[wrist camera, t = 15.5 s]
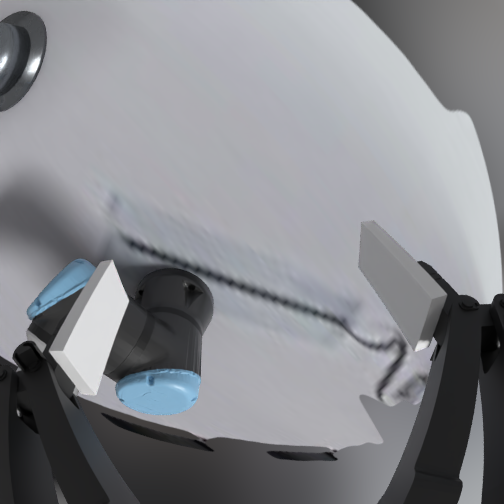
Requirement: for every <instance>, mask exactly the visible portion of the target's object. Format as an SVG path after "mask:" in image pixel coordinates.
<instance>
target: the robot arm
mask: <svg viewBox="0 0 504 504" xmlns="http://www.w3.org/2000/svg"><path fill="white" fill-rule="evenodd" d="M358 267H359V269H360V270H361V272H362V273H363V274H364V276H365V277H366V279H367V280H368V281H369V283H370V284H371V286H372V287H373V289H374V290H375V292H376V293H377V295H378V296H379V298H380V299H381V300H382V302H383V303H384V305H385V306H386V308H387V309H388V311H389V312H390V314H391V316H392V317H393V319H394V320H395V322H396V323H397V325H398V326H399V328H400V329H401V331H402V333H403V334H404V336H405V337H406V339H407V341H408V342H409V344H410V345H411V347H412V349H413V350H414V352H416V351H419V350H421V349H424V348H427V347H429V346H430V343H431V341H432V338H433V337H434V338H435V340H436V341H437V345H436V347H435V350H434V352H433V354H432V357H431V359H430V360H431V361H432V365H431V369H430V373H429V377H428V381H427V385H426V388H425V392H424V395H423V399H422V402H421V405H420V409H419V412H418V415H417V418H416V421H415V424H414V426H413V429H412V432H411V435H410V437H409V440H408V443H407V445H406V448H405V450H404V453H403V455H402V458H401V460H400V462H399V465H398V467H397V469H396V471H395V474H394V476H393V478H392V480H391V482H390V484H389V486H388V488H387V490H386V492H385V494H384V495H383V496H382V498H381V499H380V500H379V502H378V504H457V503H458V501H459V498H460V495H461V491H462V487H463V485H462V481H461V480H460V479H459V474H460V470H461V466H462V463H463V459H464V456H465V452H466V448H467V444H468V439H469V434H470V430H471V425H472V420H473V415H474V409H475V402H476V395H477V387H478V379H479V384H480V393H481V401H482V413H483V430H484V473H483V488H482V502H481V504H504V294H497V295H496V296H495V297H494V299H493V302H492V304H481V305H480V304H479V303H478V301H477V300H475V299H474V298H473V297H470V296H468V295H458V294H457V292H456V291H455V290H454V289H453V288H452V287H451V286H450V285H449V284H448V283H447V282H446V281H445V280H444V279H442V277H441V276H440V275H439V274H437V272H436V271H435V270H434V269H433V268H432V267H431V266H430V265H428V264H427V263H425V262H423V261H418V262H416V261H415V259H414V258H413V257H412V256H411V255H410V254H409V253H408V252H407V251H405V250H404V249H403V248H402V247H401V246H400V245H399V244H398V243H397V242H396V241H395V240H394V239H393V238H392V237H391V236H390V235H389V234H388V233H387V232H386V231H385V230H384V229H383V228H381V227H380V226H379V225H378V224H377V223H376V222H375V221H367V222H361V235H360V252H359V266H358ZM213 306H214V302H213V296H212V294H211V291H210V290H209V288H208V287H207V285H206V284H205V283H204V282H203V281H202V280H201V279H199V278H198V277H196V276H195V275H193V274H191V273H189V272H186V271H183V270H178V269H162V270H158V271H155V272H152V273H151V274H149V275H147V276H146V277H145V278H144V279H143V280H142V281H141V283H140V285H139V287H138V289H137V292H136V295H135V300H134V299H133V298H131V297H130V296H129V295H128V294H127V293H126V292H125V290H124V287H123V285H122V283H121V280H120V278H119V275H118V273H117V270H116V267H115V265H114V262H113V260H107V261H101V262H100V263H99V265H98V267H97V268H96V267H95V266H93V265H92V264H91V263H90V262H89V261H87V260H85V259H76V260H74V261H72V262H71V263H70V264H68V265H67V266H66V267H65V268H64V269H63V270H62V271H61V272H60V273H59V274H58V275H57V276H56V277H55V278H54V279H53V280H52V281H51V282H50V283H49V284H48V285H47V286H46V287H45V288H44V289H43V291H42V292H41V293H40V294H39V295H38V297H37V298H36V299H35V300H34V302H33V303H32V304H31V305H30V306H29V308H28V309H27V315H28V317H29V319H30V320H33V321H32V323H31V324H30V326H29V328H28V329H27V331H26V334H27V340H28V341H26V342H23V343H22V344H20V345H19V346H18V347H17V348H16V350H15V351H14V353H13V360H14V361H15V363H16V364H17V365H18V366H19V367H18V370H17V371H16V372H15V371H14V370H13V369H12V368H11V367H10V365H3V366H1V367H0V504H59V503H58V499H57V495H56V491H55V486H54V481H53V477H52V472H51V468H52V470H53V473H54V475H55V477H56V479H57V482H58V484H59V486H60V488H61V490H62V492H63V494H64V497H65V499H66V501H67V503H68V504H140V502H139V501H138V500H137V499H136V497H135V496H134V495H133V493H132V492H131V490H130V489H129V488H128V486H127V485H126V483H125V482H124V480H123V479H122V478H121V476H120V474H119V473H118V471H117V470H116V468H115V467H114V465H113V464H112V462H111V460H110V459H109V457H108V455H107V454H106V452H105V450H104V449H103V447H102V445H101V444H100V442H99V440H98V438H97V436H96V435H95V433H94V431H93V429H92V427H91V425H90V423H89V421H88V419H87V418H86V415H85V413H84V411H83V409H82V407H81V405H80V403H79V401H78V399H77V395H78V393H79V391H80V392H81V394H82V395H96V394H97V391H98V388H99V385H100V381H101V378H102V375H103V374H104V375H106V376H107V377H109V378H110V379H112V380H113V381H115V382H116V383H117V384H116V387H115V388H116V389H115V390H116V395H117V397H118V398H119V400H120V401H121V402H122V403H123V404H124V405H126V406H127V407H129V408H131V409H133V410H136V411H138V412H142V413H146V414H152V415H172V414H177V413H180V412H183V411H186V410H188V409H189V408H191V407H192V406H193V405H194V404H195V402H196V401H197V398H198V392H199V385H200V383H201V349H202V336H203V334H204V332H205V330H206V328H207V327H208V325H209V323H210V321H211V319H212V316H213Z"/></svg>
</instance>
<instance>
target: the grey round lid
mask: <svg viewBox="0 0 504 504" xmlns="http://www.w3.org/2000/svg"><path fill="white" fill-rule="evenodd" d="M46 41H47V36H46V29H45V25H44V23H43V21H42V19H41V18H40V17H39V16H38V15H36V14H35V13H32V12H28V11H21V12H17V13H14V14H12V15H10V16H8V17H6V18H5V19H4V20H2V21H1V22H0V112H1V111H4V110H7V109H9V108H11V107H12V106H14V105H15V104H17V103H18V102H19V101H20V100H21V99H22V98H23V97H24V96H25V94H26V93H27V92H28V90H29V89H30V87H31V86H32V84H33V82H34V81H35V79H36V77H37V75H38V73H39V70H40V68H41V65H42V62H43V59H44V55H45V50H46Z"/></svg>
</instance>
